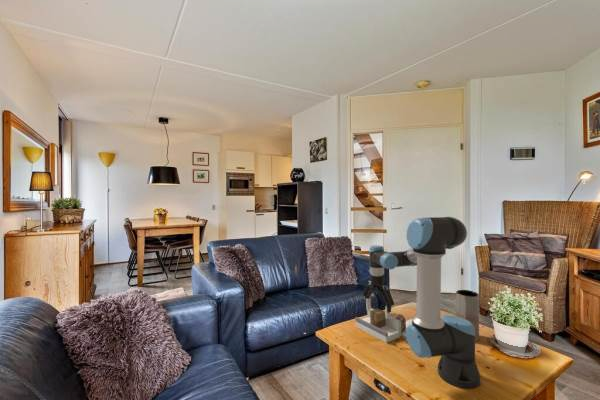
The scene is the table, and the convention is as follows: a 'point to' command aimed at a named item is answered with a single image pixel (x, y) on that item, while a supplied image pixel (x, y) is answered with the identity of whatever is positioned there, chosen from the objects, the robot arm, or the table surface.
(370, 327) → the board
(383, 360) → the table surface
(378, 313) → the brown block
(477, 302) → the planter
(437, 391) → the table surface
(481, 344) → the table surface
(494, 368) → the table surface
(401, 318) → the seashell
